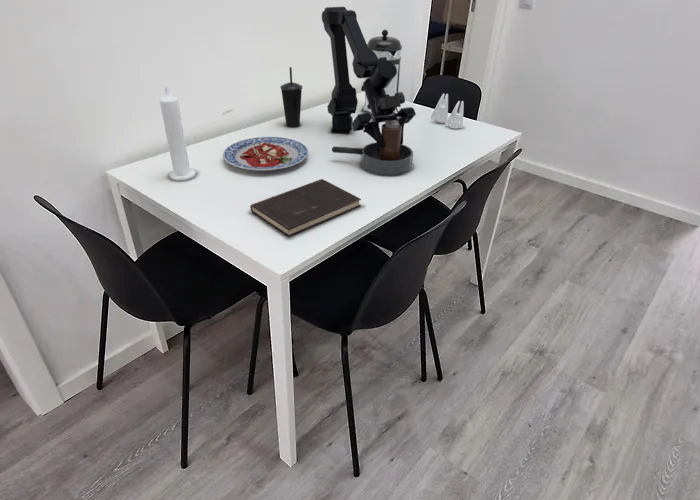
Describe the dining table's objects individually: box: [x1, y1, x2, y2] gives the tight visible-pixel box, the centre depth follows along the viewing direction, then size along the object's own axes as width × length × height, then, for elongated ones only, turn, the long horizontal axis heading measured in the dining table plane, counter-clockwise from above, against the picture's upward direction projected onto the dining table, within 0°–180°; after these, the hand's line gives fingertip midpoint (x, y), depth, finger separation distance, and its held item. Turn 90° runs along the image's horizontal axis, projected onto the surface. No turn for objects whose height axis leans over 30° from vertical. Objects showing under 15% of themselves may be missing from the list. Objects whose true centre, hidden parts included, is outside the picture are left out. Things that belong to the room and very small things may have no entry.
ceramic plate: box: [222, 136, 309, 172], centre depth 149 cm, size 26×26×3 cm
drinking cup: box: [279, 66, 303, 128], centre depth 169 cm, size 8×8×20 cm
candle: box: [159, 85, 196, 182], centre depth 131 cm, size 7×7×25 cm
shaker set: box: [430, 93, 465, 130], centre depth 175 cm, size 12×4×11 cm, turn 48°
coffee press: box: [361, 29, 403, 114], centre depth 180 cm, size 17×16×30 cm
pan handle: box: [331, 146, 367, 156], centre depth 147 cm, size 11×2×2 cm, turn 82°
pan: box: [361, 141, 414, 177], centre depth 146 cm, size 15×15×4 cm
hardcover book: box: [249, 178, 362, 238], centre depth 123 cm, size 16×23×2 cm
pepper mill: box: [380, 120, 402, 161], centre depth 143 cm, size 6×6×13 cm
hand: (392, 145), depth 142 cm, fingers closed on pepper mill, 6 cm apart
